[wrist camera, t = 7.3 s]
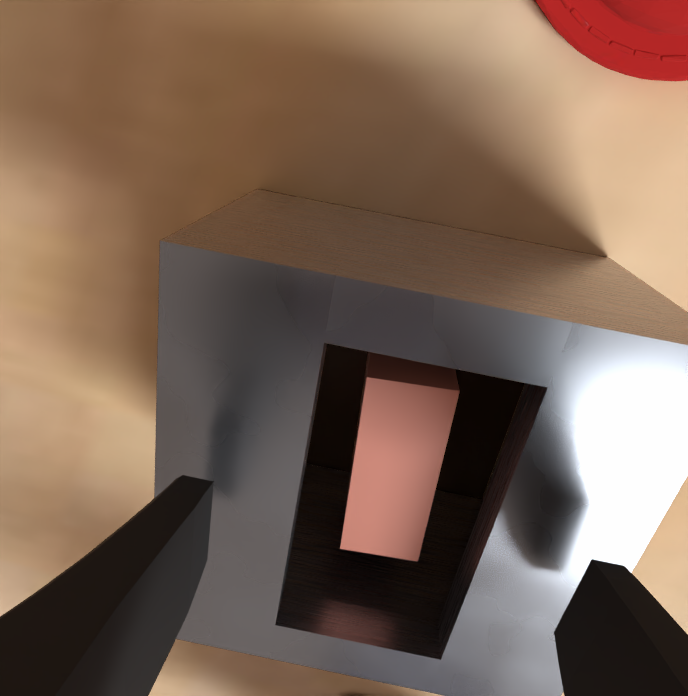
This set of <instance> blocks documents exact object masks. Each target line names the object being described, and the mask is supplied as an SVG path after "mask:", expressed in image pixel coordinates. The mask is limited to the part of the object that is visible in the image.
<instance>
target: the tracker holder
mask: <svg viewBox="0 0 688 696" xmlns="http://www.w3.org/2000/svg"><path fill="white" fill-rule="evenodd" d="M535 1H536V3H537V4H538V5H539V7H540V8H541V10H542V11H543V13H544V14H545V16H546V17H547V18H548V20H549V21H550V23H551V24H552V26H553V27H554V29H555V30H556V31H557V32H558V33H559V34H560V35H561V36H562V37H563V38H564V39H565V40H566V41H567V42H568V43H569V44H570V45H572V46H573V47H574V48H575V49H576V50H577V51H579V52H580V53H582V54H583V55H585V56H586V57H588V58H589V59H591V60H592V61H594V62H596V63H598V64H600V65H602V66H604V67H606V68H608V69H610V70H613V71H616V72H619V73H622V74H625V75H629V76H633V77H637V78H641V79H648V80H661V81H686V80H688V0H535Z"/></svg>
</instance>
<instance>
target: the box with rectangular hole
mask: <svg viewBox="0 0 688 696" xmlns="http://www.w3.org/2000/svg"><path fill="white" fill-rule="evenodd" d="M327 343H328V344H333V345H338V346H343V347H348V348H353V349H358V350H363V351H368V352H373V353H378V354H383V355H388V356H393V357H398V358H403V359H408V360H413V361H418V362H423V363H428V364H433V365H438V366H443V367H448V368H453V369H458V370H463V371H468V372H473V373H477V374H482V375H487V376H492V377H497V378H502V379H507V380H512V381H517V382H522V383H525V384H524V387H523V389H522V392H521V395H520V397H519V400H518V403H517V406H516V408H515V411H514V414H513V416H512V419H511V422H510V425H509V427H508V430H507V433H506V435H505V438H504V441H503V443H502V446H501V449H500V452H499V454H498V457H497V460H496V462H495V465H494V468H493V471H492V473H491V476H490V479H489V481H488V484H487V487H486V489H485V492H484V495H483V498H482V499H479V498H474V497H469V496H464V495H459V494H454V493H449V492H444V491H440V490H435V494H434V498H433V502H432V506H431V510H430V514H429V518H428V522H427V527H426V531H425V535H424V539H423V543H422V547H421V551H420V555H419V559H418V561H411V560H405V559H399V558H393V557H387V556H381V555H375V554H369V553H363V552H357V551H351V550H345V549H340V545H341V538H342V530H343V523H344V516H345V508H346V501H347V494H348V486H349V479H350V472H347V471H342V470H337V469H332V468H327V467H322V466H317V465H312V464H308V463H306V461H307V455H308V450H309V444H310V438H311V433H312V427H313V421H314V416H315V410H316V404H317V399H318V393H319V387H320V382H321V376H322V370H323V365H324V359H325V353H326V347H327ZM182 475H186V476H190V477H195V478H200V479H205V480H210V481H214V486H213V498H212V510H211V522H210V534H209V546H208V559H207V562H206V565H205V568H204V571H203V574H202V576H201V579H200V582H199V585H198V588H197V590H196V593H195V596H194V598H193V601H192V604H191V607H190V609H189V612H188V614H187V616H186V618H185V621H184V623H183V625H182V627H181V629H180V631H179V633H178V635H177V637H176V639H179V640H184V641H189V642H194V643H198V644H203V645H208V646H212V647H217V648H222V649H227V650H231V651H236V652H241V653H246V654H250V655H255V656H260V657H264V658H269V659H274V660H279V661H283V662H288V663H293V664H298V665H302V666H307V667H312V668H317V669H321V670H326V671H331V672H335V673H340V674H345V675H350V676H354V677H359V678H364V679H369V680H373V681H378V682H383V683H387V684H392V685H397V686H402V687H406V688H411V689H416V690H421V691H425V692H430V693H435V694H439V695H444V696H561V695H562V693H563V686H562V680H561V674H560V669H559V663H558V656H557V650H556V643H555V636H554V631H555V629H556V627H557V625H558V623H559V621H560V619H561V617H562V615H563V613H564V612H565V610H566V608H567V606H568V604H569V602H570V600H571V598H572V596H573V594H574V592H575V590H576V588H577V587H578V585H579V583H580V581H581V579H582V577H583V575H584V573H585V571H586V569H587V567H588V565H589V563H590V561H591V560H592V559H594V560H599V561H603V562H608V563H613V564H618V565H623V566H625V567H626V568H627V569H628V570H629V571H630V572H632V571H633V569H634V567H635V565H636V564H637V562H638V560H639V558H640V557H641V555H642V553H643V552H644V550H645V548H646V546H647V545H648V543H649V541H650V539H651V538H652V536H653V534H654V532H655V531H656V529H657V527H658V525H659V524H660V522H661V520H662V518H663V517H664V515H665V513H666V511H667V510H668V508H669V506H670V504H671V503H672V501H673V499H674V497H675V496H676V494H677V492H678V490H679V489H680V487H681V485H682V484H683V482H684V480H685V478H686V477H687V475H688V312H687V311H685V310H684V309H682V308H681V307H679V306H678V305H677V304H675V303H674V302H672V301H671V300H669V299H668V298H666V297H665V296H664V295H662V294H661V293H659V292H658V291H656V290H655V289H653V288H652V287H651V286H649V285H648V284H646V283H645V282H643V281H642V280H640V279H639V278H638V277H636V276H635V275H633V274H632V273H630V272H629V271H628V270H626V269H625V268H623V267H622V266H620V265H619V264H617V263H616V262H615V261H613V260H612V259H610V258H607V257H602V256H597V255H592V254H587V253H582V252H577V251H572V250H567V249H561V248H556V247H551V246H546V245H541V244H536V243H531V242H526V241H521V240H515V239H510V238H505V237H500V236H495V235H490V234H485V233H480V232H475V231H469V230H464V229H459V228H454V227H449V226H444V225H439V224H434V223H428V222H423V221H418V220H413V219H408V218H403V217H398V216H393V215H388V214H382V213H377V212H372V211H367V210H362V209H357V208H352V207H347V206H342V205H336V204H331V203H326V202H321V201H316V200H311V199H306V198H301V197H296V196H290V195H285V194H280V193H275V192H270V191H265V190H260V189H256V190H254V191H252V192H251V193H249V194H247V195H245V196H243V197H241V198H239V199H237V200H236V201H234V202H232V203H230V204H228V205H226V206H224V207H222V208H221V209H219V210H217V211H215V212H213V213H211V214H209V215H207V216H206V217H204V218H202V219H200V220H198V221H196V222H194V223H192V224H190V225H189V226H187V227H185V228H183V229H181V230H179V231H177V232H175V233H174V234H172V235H170V236H168V237H166V238H164V239H162V240H160V262H159V309H158V356H157V403H156V450H155V497H156V496H158V495H159V494H160V493H161V492H162V491H163V490H164V489H165V488H166V487H168V486H169V485H170V484H171V483H172V482H173V481H174V480H175V479H176V478H178V477H180V476H182ZM155 497H154V498H155Z"/></svg>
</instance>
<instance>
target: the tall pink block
mask: <svg viewBox="0 0 688 696" xmlns="http://www.w3.org/2000/svg"><path fill="white" fill-rule="evenodd" d="M459 392H460V390H459V386H458V381H457V376H456V372H455V369H453V368H448V367H443V366H438V365H433V364H428V363H423V362H418V361H413V360H408V359H403V358H398V357H393V356H388V355H383V354H378V353H373V352H368V357H367V364H366V370H365V377H364V383H363V390H362V396H361V403H360V409H359V416H358V422H357V429H356V435H355V442H354V450H353V457H352V464H351V472H350V479H349V486H348V494H347V501H346V508H345V516H344V523H343V530H342V538H341V545H340V549H345V550H351V551H357V552H363V553H369V554H375V555H381V556H387V557H393V558H399V559H405V560H411V561H418V559H419V555H420V551H421V547H422V543H423V539H424V535H425V531H426V527H427V522H428V518H429V514H430V510H431V506H432V502H433V498H434V494H435V490H436V486H437V482H438V478H439V474H440V469H441V465H442V461H443V457H444V453H445V449H446V445H447V441H448V437H449V433H450V429H451V425H452V421H453V416H454V412H455V408H456V404H457V400H458V396H459Z"/></svg>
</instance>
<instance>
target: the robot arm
mask: <svg viewBox="0 0 688 696" xmlns="http://www.w3.org/2000/svg"><path fill="white" fill-rule="evenodd" d="M213 486H214V481H210V480H205V479H200V478H195V477H190V476H186V475H182V476H180V477H178V478H176V479H175V480H174V481H173V482H172V483H171V484H170V485H169V486H168V487H166V488H165V489H164V490H163V491H162V492H161V493H160V494H159V495H158V496H156V497H155V498H154V499H153V500H152V501H151V502H150V503H149V504H147V505H146V506H145V507H144V508H143V509H142V510H140V511H139V512H138V513H137V514H136V515H135V516H133V517H132V518H131V519H130V520H129V521H128V522H126V523H125V524H124V525H123V526H122V527H120V528H119V529H118V530H117V531H115V532H114V533H113V534H112V535H110V536H109V537H108V538H107V539H105V540H104V541H103V542H102V543H101V544H99V545H98V546H97V547H96V548H94V549H93V550H92V551H91V552H89V553H88V554H87V555H86V556H84V557H83V558H82V559H80V560H79V561H78V562H76V563H75V564H74V565H72V566H71V567H70V568H68V569H67V570H65V571H64V572H63V573H61V574H60V575H59V576H57V577H56V578H55V579H53V580H52V581H51V582H49V583H48V584H47V585H45V586H44V587H42V588H41V589H40V590H38V591H37V592H36V593H34V594H33V595H31V596H30V597H28V598H27V599H26V600H24V601H23V602H21V603H20V604H18V605H17V606H15V607H14V608H13V609H11V610H10V611H8V612H7V613H5V614H4V615H2V616H1V617H0V696H148V695H149V693H150V691H151V689H152V687H153V685H154V683H155V681H156V679H157V677H158V674H159V672H160V670H161V668H162V666H163V664H164V662H165V660H166V658H167V656H168V654H169V652H170V650H171V648H172V646H173V644H174V641H175V639H176V637H177V635H178V633H179V631H180V629H181V627H182V625H183V623H184V621H185V618H186V616H187V614H188V612H189V609H190V607H191V604H192V601H193V598H194V596H195V593H196V590H197V588H198V585H199V582H200V579H201V576H202V574H203V571H204V568H205V565H206V562H207V559H208V546H209V534H210V522H211V510H212V498H213ZM554 636H555V643H556V650H557V656H558V663H559V669H560V674H561V680H562V686H563V691H564V695H565V696H688V635H687V634H686V632H685V631H684V630H683V629H682V628H681V627H680V626H679V625H678V624H677V622H676V621H675V620H674V619H673V618H672V617H671V616H670V615H669V613H668V612H667V611H666V610H665V609H664V608H663V607H662V606H661V605H660V603H659V602H658V601H657V600H656V599H655V598H654V597H653V596H652V595H651V594H650V592H649V591H648V590H647V589H646V588H645V587H644V586H643V585H642V584H641V583H640V582H639V581H638V579H637V578H636V577H635V576H634V575H633V574H632V573H631V572H630V571H629V570H628V569H627V568H626V567H625V566H623V565H618V564H613V563H608V562H603V561H599V560H594V559H592V560H591V561H590V563H589V565H588V567H587V569H586V571H585V573H584V575H583V577H582V579H581V581H580V583H579V585H578V587H577V588H576V590H575V592H574V594H573V596H572V598H571V600H570V602H569V604H568V606H567V608H566V610H565V612H564V613H563V615H562V617H561V619H560V621H559V623H558V625H557V627H556V629H555V631H554Z"/></svg>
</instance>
